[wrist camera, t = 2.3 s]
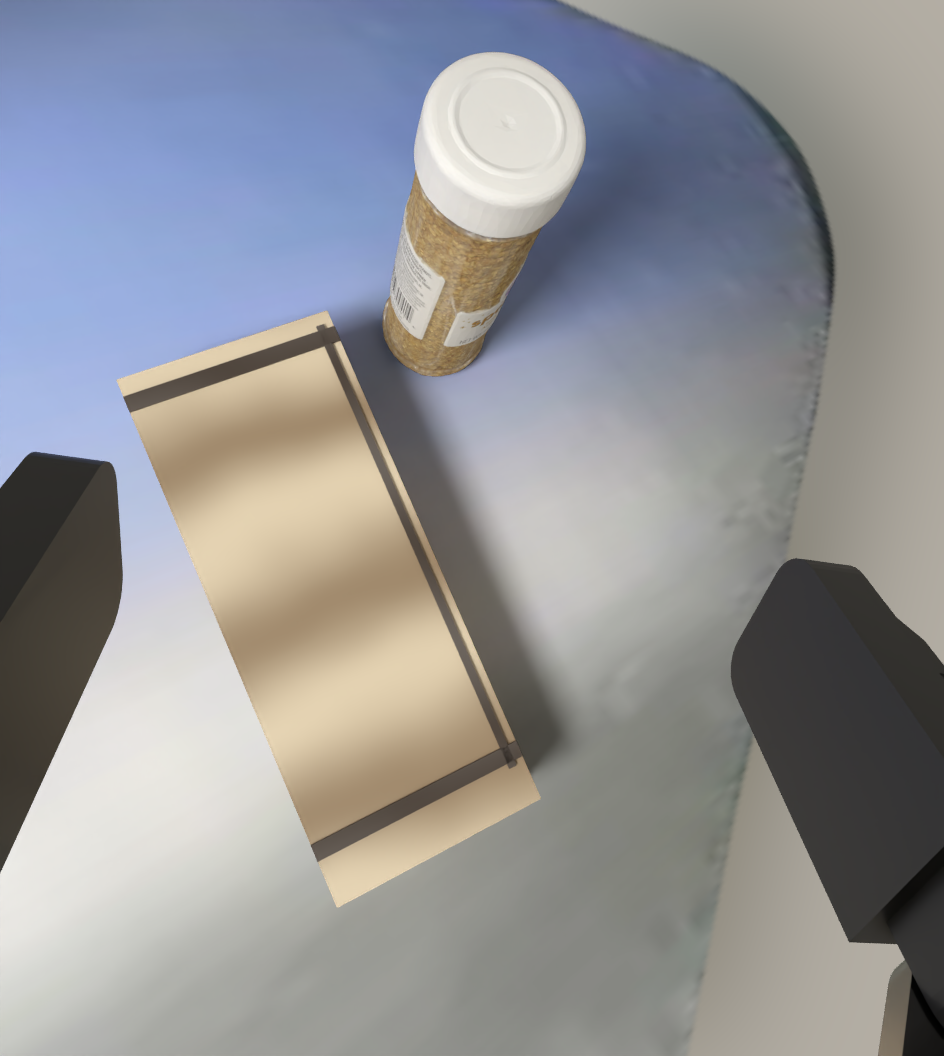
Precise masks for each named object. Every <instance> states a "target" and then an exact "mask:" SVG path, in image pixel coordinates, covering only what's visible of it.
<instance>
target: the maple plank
mask: <svg viewBox="0 0 944 1056" xmlns="http://www.w3.org/2000/svg"><path fill="white" fill-rule="evenodd" d="M117 382H118V385H119V387H120V390H121V392H122V394H123V398H124V400H125V402H126V405H127V407H128V410H129V412H130V414H131V416H132V418H133V421H134V423H135V426H136V428H137V430H138V433H139V435H140V437H141V440H142V442H143V445H144V447H145V449H146V452H147V454H148V457H149V459H150V461H151V464H152V466H153V469H154V471H155V473H156V476H157V478H158V481H159V483H160V485H161V488H162V490H163V492H164V495H165V497H166V500H167V502H168V504H169V507H170V509H171V512H172V514H173V516H174V519H175V521H176V524H177V526H178V528H179V531H180V533H181V536H182V538H183V540H184V543H185V545H186V547H187V550H188V552H189V555H190V557H191V559H192V562H193V564H194V567H195V569H196V571H197V574H198V576H199V579H200V581H201V583H202V586H203V588H204V591H205V593H206V595H207V598H208V600H209V602H210V605H211V607H212V610H213V612H214V614H215V617H216V619H217V622H218V624H219V626H220V629H221V631H222V634H223V636H224V638H225V641H226V643H227V646H228V648H229V650H230V653H231V655H232V657H233V660H234V662H235V665H236V667H237V669H238V672H239V674H240V677H241V679H242V681H243V684H244V686H245V689H246V691H247V693H248V696H249V698H250V701H251V703H252V705H253V708H254V710H255V712H256V715H257V717H258V720H259V722H260V724H261V727H262V729H263V732H264V734H265V736H266V739H267V741H268V744H269V746H270V748H271V751H272V753H273V756H274V758H275V760H276V763H277V765H278V767H279V770H280V772H281V775H282V777H283V779H284V782H285V784H286V787H287V789H288V791H289V794H290V796H291V799H292V801H293V803H294V806H295V808H296V811H297V813H298V815H299V818H300V820H301V822H302V825H303V827H304V830H305V832H306V834H307V837H308V839H309V842H310V844H311V847H312V850H313V852H314V854H315V857H316V859H317V862H318V863H319V866H320V868H321V870H322V873H323V875H324V877H325V880H326V882H327V885H328V887H329V889H330V892H331V894H332V897H333V899H334V901H335V904H336V906H337V908H338V907H340V906H342V905H344V904H346V903H347V902H349V901H351V900H353V899H355V898H357V897H359V896H360V895H362V894H364V893H366V892H368V891H370V890H372V889H373V888H375V887H377V886H379V885H381V884H383V883H385V882H387V881H388V880H390V879H392V878H394V877H396V876H398V875H400V874H401V873H403V872H405V871H407V870H409V869H411V868H413V867H415V866H416V865H418V864H420V863H422V862H424V861H426V860H428V859H429V858H431V857H433V856H435V855H437V854H439V853H441V852H442V851H444V850H446V849H448V848H450V847H452V846H454V845H456V844H457V843H459V842H461V841H463V840H465V839H467V838H469V837H470V836H472V835H474V834H476V833H478V832H480V831H482V830H483V829H485V828H487V827H489V826H491V825H493V824H495V823H497V822H498V821H500V820H502V819H504V818H506V817H508V816H510V815H511V814H513V813H515V812H517V811H519V810H521V809H523V808H524V807H526V806H528V805H530V804H532V803H534V802H536V801H538V800H539V799H541V797H540V795H539V793H538V790H537V788H536V786H535V784H534V781H533V779H532V777H531V774H530V772H529V770H528V768H527V765H526V763H525V761H524V759H523V755H522V753H521V750H520V748H519V746H518V744H517V741H516V740H515V738H514V736H513V733H512V731H511V729H510V727H509V724H508V722H507V720H506V717H505V715H504V713H503V711H502V708H501V706H500V704H499V701H498V699H497V697H496V695H495V692H494V690H493V688H492V686H491V683H490V681H489V679H488V676H487V674H486V672H485V670H484V667H483V665H482V663H481V660H480V658H479V656H478V654H477V651H476V649H475V647H474V644H473V642H472V640H471V638H470V635H469V633H468V631H467V628H466V626H465V624H464V622H463V619H462V617H461V615H460V613H459V610H458V608H457V606H456V603H455V601H454V599H453V597H452V594H451V592H450V590H449V587H448V585H447V583H446V581H445V578H444V576H443V574H442V571H441V569H440V567H439V565H438V562H437V560H436V558H435V555H434V553H433V551H432V549H431V546H430V544H429V542H428V540H427V537H426V535H425V533H424V530H423V528H422V526H421V524H420V521H419V519H418V517H417V514H416V512H415V510H414V508H413V505H412V503H411V501H410V498H409V496H408V494H407V492H406V489H405V487H404V485H403V482H402V480H401V478H400V476H399V473H398V471H397V469H396V466H395V464H394V462H393V460H392V457H391V455H390V453H389V451H388V448H387V446H386V444H385V441H384V439H383V437H382V435H381V432H380V430H379V428H378V425H377V423H376V421H375V419H374V416H373V414H372V412H371V409H370V407H369V405H368V403H367V400H366V398H365V396H364V393H363V391H362V389H361V387H360V384H359V382H358V380H357V378H356V375H355V373H354V371H353V368H352V366H351V364H350V362H349V359H348V357H347V355H346V352H345V350H344V348H343V346H342V343H341V340H340V338H339V335H338V333H337V331H336V328H335V326H334V325H333V323H332V320H331V318H330V316H329V314H328V311H324V312H321V313H318V314H315V315H312V316H309V317H306V318H303V319H299V320H296V321H293V322H290V323H287V324H284V325H281V326H278V327H275V328H272V329H269V330H266V331H263V332H260V333H257V334H254V335H251V336H248V337H245V338H242V339H239V340H236V341H233V342H230V343H227V344H224V345H221V346H218V347H214V348H211V349H208V350H205V351H202V352H199V353H196V354H193V355H190V356H187V357H184V358H181V359H178V360H175V361H172V362H169V363H166V364H163V365H160V366H157V367H154V368H151V369H148V370H145V371H142V372H139V373H136V374H133V375H130V376H126V377H123V378H120V379H117Z"/></svg>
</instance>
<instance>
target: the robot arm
mask: <svg viewBox="0 0 944 1056" xmlns="http://www.w3.org/2000/svg"><path fill="white" fill-rule="evenodd" d="M122 580H123V571H122V555H121V540H120V524H119V509H118V494H117V480H116V474H115V470H114V467H113V466H112V464H111V463H110V462H105V461H98V460H91V459H84V458H76V457H69V456H62V455H55V454H47V453H40V452H32V453H30V454H29V455H27V456H26V457H25V458H24V459H23V461H22V462H21V463H20V464H19V466H18V467H17V468H16V469H15V471H14V472H13V473H12V474H11V476H10V477H9V478H8V479H7V481H6V482H5V483H4V484H3V486H2V487H1V488H0V872H1V870H2V868H3V866H4V864H5V861H6V859H7V857H8V855H9V853H10V850H11V848H12V846H13V844H14V842H15V840H16V837H17V835H18V833H19V831H20V829H21V826H22V824H23V822H24V820H25V818H26V816H27V813H28V811H29V809H30V807H31V805H32V802H33V800H34V798H35V796H36V794H37V792H38V789H39V787H40V785H41V783H42V781H43V778H44V776H45V774H46V772H47V770H48V768H49V765H50V763H51V761H52V759H53V757H54V754H55V752H56V750H57V748H58V746H59V744H60V741H61V739H62V737H63V735H64V733H65V731H66V728H67V726H68V724H69V722H70V720H71V717H72V715H73V713H74V711H75V709H76V707H77V704H78V702H79V700H80V698H81V696H82V693H83V691H84V689H85V687H86V685H87V683H88V680H89V678H90V676H91V674H92V672H93V669H94V667H95V665H96V663H97V661H98V659H99V656H100V654H101V652H102V650H103V648H104V645H105V643H106V641H107V639H108V637H109V635H110V632H111V630H112V628H113V625H114V622H115V620H116V616H117V613H118V608H119V604H120V599H121V592H122ZM731 679H732V685H733V689H734V692H735V695H736V697H737V699H738V701H739V704H740V706H741V708H742V710H743V712H744V714H745V717H746V719H747V721H748V723H749V725H750V727H751V730H752V732H753V734H754V736H755V738H756V740H757V743H758V745H759V747H760V749H761V751H762V754H763V756H764V758H765V760H766V762H767V764H768V766H769V769H770V771H771V773H772V775H773V777H774V779H775V782H776V784H777V786H778V788H779V791H780V793H781V795H782V797H783V799H784V801H785V803H786V806H787V808H788V810H789V812H790V814H791V817H792V819H793V821H794V823H795V825H796V827H797V830H798V832H799V834H800V836H801V838H802V840H803V843H804V845H805V847H806V849H807V851H808V853H809V856H810V858H811V860H812V862H813V864H814V867H815V869H816V871H817V873H818V875H819V877H820V880H821V882H822V884H823V886H824V888H825V891H826V893H827V895H828V897H829V899H830V901H831V903H832V906H833V908H834V910H835V912H836V914H837V917H838V919H839V921H840V923H841V925H842V928H843V930H844V932H845V934H846V936H847V938H848V941H849V942H857V943H884V944H885V943H886V944H897V945H898V946H899V949H900V950H901V952H902V954H903V956H904V958H905V960H904V961H903V962H902V963H901V964H900V965H899V966H898V967H897V968H896V969H895V970H894V971H893V973H892V975H891V977H890V980H889V984H888V991H887V997H886V1004H885V1011H884V1018H883V1025H882V1032H881V1039H880V1046H879V1052H878V1056H944V665H943V664H942V663H941V661H940V660H939V659H938V657H937V656H936V655H935V653H934V652H933V651H932V650H931V649H930V647H929V646H928V645H927V643H926V642H925V641H924V640H923V639H922V638H920V637H919V636H918V635H917V634H916V633H915V632H913V631H912V630H911V629H910V628H909V627H907V626H906V625H905V624H903V623H902V622H901V621H900V620H899V619H898V618H896V616H895V615H894V614H893V612H892V611H891V610H890V609H889V607H888V606H887V605H886V603H885V602H884V601H883V599H882V598H881V597H880V596H879V594H878V593H877V592H876V591H875V589H874V588H873V586H872V585H871V584H870V583H869V581H868V580H867V579H866V577H865V576H864V575H863V574H862V573H861V572H860V571H859V570H858V569H857V568H855V567H853V566H849V565H841V564H834V563H827V562H820V561H812V560H805V559H797V558H796V559H791V560H789V561H787V562H786V563H784V564H783V565H782V566H781V568H780V569H779V570H778V572H777V573H776V575H775V577H774V579H773V580H772V582H771V584H770V586H769V587H768V589H767V591H766V593H765V594H764V596H763V598H762V600H761V602H760V603H759V605H758V607H757V609H756V610H755V612H754V614H753V616H752V617H751V619H750V621H749V623H748V625H747V626H746V628H745V630H744V632H743V633H742V635H741V637H740V639H739V640H738V642H737V644H736V646H735V649H734V652H733V656H732V662H731Z"/></svg>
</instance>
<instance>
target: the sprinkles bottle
mask: <svg viewBox="0 0 944 1056" xmlns="http://www.w3.org/2000/svg"><path fill="white" fill-rule="evenodd" d="M585 151H586V134H585V126H584V122H583V118H582V116H581V113H580V110H579V108H578V106H577V104H576V102H575V100H574V98H573V97H572V95H571V94H570V92H569V91H568V90H567V88H566V87H565V86H564V85H563V84H562V83H561V82H560V81H559V80H558V79H557V78H556V77H555V76H554V75H553V74H552V73H550V72H549V71H548V70H546V69H545V68H543V67H542V66H540V65H538V64H537V63H535V62H533V61H531V60H529V59H526V58H524V57H521V56H517V55H513V54H508V53H502V52H485V53H478V54H473V55H470V56H467V57H464V58H462V59H460V60H458V61H456V62H454V63H453V64H451V65H450V66H448V67H447V68H446V69H445V70H444V71H442V72H441V73H440V74H439V76H438V77H437V78H436V79H435V81H434V82H433V84H432V85H431V87H430V89H429V91H428V93H427V95H426V98H425V101H424V104H423V108H422V112H421V116H420V120H419V125H418V130H417V135H416V140H415V147H414V162H415V167H416V171H415V177H414V181H413V186H412V190H411V193H410V196H409V199H408V201H407V204H406V208H405V213H404V218H403V224H402V228H401V233H400V239H399V244H398V249H397V254H396V259H395V264H394V269H393V274H392V279H391V286H390V297H389V298H388V300H387V302H386V305H385V308H384V311H383V321H382V326H383V334H384V338H385V341H386V343H387V344H388V347H389V349H390V351H391V352H392V354H393V355H394V356H395V357H396V358H397V359H398V360H399V361H400V362H401V363H402V364H404V365H405V366H406V367H408V368H410V369H411V370H413V371H415V372H417V373H419V374H422V375H425V376H444V375H449V374H452V373H456V372H458V371H460V370H462V369H464V368H465V367H466V366H468V365H469V364H470V363H471V362H472V361H473V360H474V359H475V357H476V356H477V355H478V353H479V352H480V351H481V348H482V344H483V342H484V339H485V335H486V333H487V331H488V329H489V328H490V327H491V325H492V324H493V322H494V320H495V319H496V317H497V315H498V313H499V311H500V309H501V307H502V305H503V303H504V301H505V299H506V297H507V295H508V293H509V291H510V289H511V288H512V286H513V284H514V282H515V280H516V278H517V276H518V275H519V273H520V271H521V269H522V267H523V265H524V263H525V261H526V259H527V256H528V252H529V251H530V249H531V247H532V245H533V244H534V241H535V239H536V237H537V236H538V234H539V232H540V230H541V228H542V227H543V225H545V224H546V223H547V222H549V221H550V220H551V219H552V218H553V217H554V216H555V215H556V213H557V212H558V210H559V209H560V208H561V206H562V204H563V202H564V201H565V199H566V197H567V195H568V194H569V192H570V190H571V188H572V186H573V184H574V182H575V180H576V178H577V176H578V174H579V171H580V169H581V167H582V164H583V161H584V157H585Z"/></svg>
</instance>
